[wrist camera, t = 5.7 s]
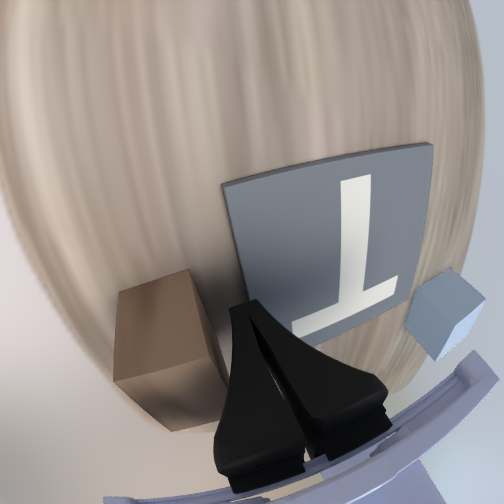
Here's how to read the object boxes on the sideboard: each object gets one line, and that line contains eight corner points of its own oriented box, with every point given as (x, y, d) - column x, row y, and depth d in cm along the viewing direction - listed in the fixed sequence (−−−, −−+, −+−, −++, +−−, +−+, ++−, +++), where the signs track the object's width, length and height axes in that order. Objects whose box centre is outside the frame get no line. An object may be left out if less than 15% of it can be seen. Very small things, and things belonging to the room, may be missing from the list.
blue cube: (436, 305, 23) (466, 335, 19) (403, 326, 22) (435, 361, 18) (449, 267, 20) (486, 298, 16) (415, 287, 20) (455, 325, 16)
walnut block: (241, 413, 11) (171, 431, 10) (216, 336, 15) (160, 354, 14) (209, 355, 8) (113, 381, 8) (188, 268, 12) (119, 291, 12)
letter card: (404, 295, 19) (408, 299, 19) (263, 359, 17) (266, 365, 17) (427, 142, 13) (433, 144, 12) (221, 184, 11) (224, 187, 10)
